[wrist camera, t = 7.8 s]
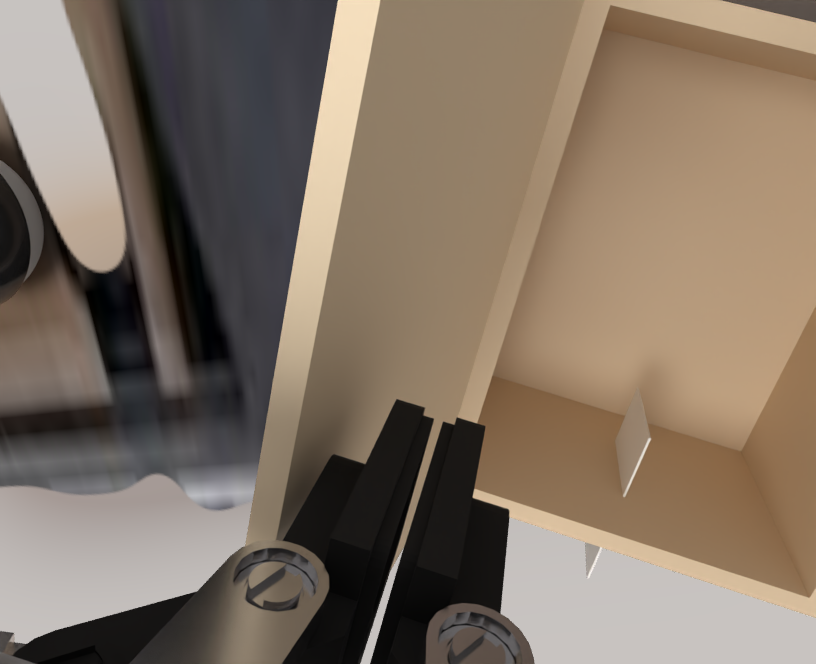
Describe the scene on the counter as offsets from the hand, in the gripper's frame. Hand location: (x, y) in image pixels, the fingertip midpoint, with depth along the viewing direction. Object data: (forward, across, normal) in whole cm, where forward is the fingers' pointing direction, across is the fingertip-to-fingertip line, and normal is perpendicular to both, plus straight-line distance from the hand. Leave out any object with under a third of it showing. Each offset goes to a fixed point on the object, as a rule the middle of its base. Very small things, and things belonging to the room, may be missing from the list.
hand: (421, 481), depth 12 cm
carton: (+26, -9, +2) cm, 27 cm away
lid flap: (+6, +1, 0) cm, 6 cm away
